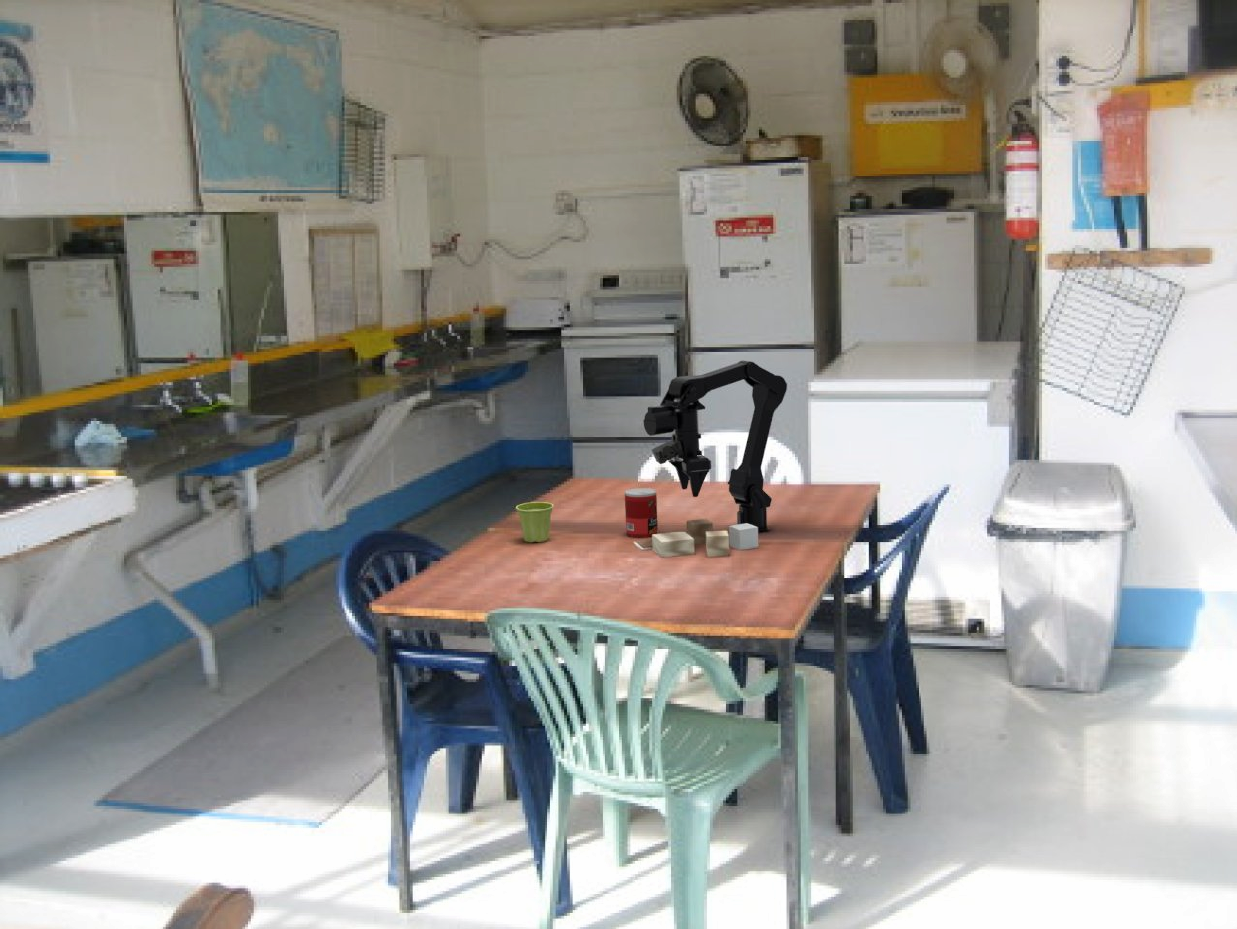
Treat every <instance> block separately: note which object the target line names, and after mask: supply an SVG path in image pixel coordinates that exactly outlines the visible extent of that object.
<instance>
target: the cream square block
mask: <svg viewBox="0 0 1237 929" xmlns="http://www.w3.org/2000/svg"><path fill="white" fill-rule="evenodd" d="M651 540H652V545H653V549H652V550H653V551H654V552H655V553H656V554H657V555H658V556H659V557H660V558H672V557H682V556H691V555H695V545H694V539H693V538H692V537H691V536H690V535H688V534H687V531H686V532H685V531H683V530H682V531H674V532H665V533H657V534H652V536H651Z"/></svg>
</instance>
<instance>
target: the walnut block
mask: <svg viewBox="0 0 1237 929" xmlns="http://www.w3.org/2000/svg"><path fill="white" fill-rule="evenodd" d="M713 526H714V523H713V522H712V521H710V520H709V519H707V518H701V519H700V518H699V519H690V520H689V519H688V520H686V533H687V534H688V535H690V536H691V537H692V538H693V539H694V546H695V545H697V546H698V545H706V531H714V529H713V528H714V527H713Z"/></svg>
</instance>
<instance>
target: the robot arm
mask: <svg viewBox="0 0 1237 929" xmlns="http://www.w3.org/2000/svg"><path fill="white" fill-rule="evenodd" d="M743 380H744V382H745V383H746V384H747V385H748V386H750V387H752V393H751V397H752V402H753V406H754V410H753V412H752V413H753V414H752V416H751V417H752V418H751V422H750V427H749V431H748V434H747V435H748V436H747V439H746V444H745V448H744V452H743V457H742V461H741V463H740V465H739V466H738V468H731V470H730V475H729V480H728V482H727V485H728V493H729V494H730V495H731V497H732V498H733V500H734V503H735V504H736V505H738V511H737V513H736V523H737V524H736V525H738V524H745V523H748V524H751V525H753V526H756V527H758V532H766V531H770V527H768V522H767V521H768V520H767V519H768V518H767V517H768V516H767V512H768V511H767V510H768V509H767V508H770V507H771V504H772V501H773V499H772V497H771V496H770V495H769V494H768V493H767V492H766V491H765V490H764V489H763V488H764V476H763V470H762V464H763V460H764V457H765V451H766V446H767V443H768V439H769V435H770V432H771V426H772V423H773V417H774V414H775V412H776V410H777V409H778V408H779V407H780V405H781V404H782V403H783V401H784V398H785V396H786V393H787V390H788V383H787V382H786V380H785V378H784V377H783V376H781V375H777V374H774V373H772V372H770V371H769V370H767V369H765V368H763V367H761V366H760V365H758V364H757V363H756V362H754V361H750V360H739V361H738V362H737V363H734V364H730V365H728V366H725V367H720V368H719V369H716V370H712V371H709V372H707V373H703V374H697V375H684V376H677V377H674V378H672V379H671V380H670V383H669V385H668V389H667V391H666V393H665V395H664V396H663V399H662V400H661V403H660V404H659V405H657V406H653V405H652V406H648V407H647V412H646V413H645V415H644V418H643V420H642V421H643V427H644V428H643V429H644V430H645V432H646V434H647V435H649V437H650V436H657V435H663V434H669V433H670V434H671V433H672V434H671V440H669V441H667V442H664V443H662V444H660V445H657V446H656V447H654V448H652V449H651V452H652V454H653V456H654V459H655V461H656V462H657V463H658V464H660V465H662V464H665V463H667V462H668V463H669V464H671V465H672V466H673V468H675V470H676V473H677V476H678V480H679V483H680V485H681V487H680V488H681V489H682V490H688V486H689V485H690V490H691V495H692V497H693V498H697V497H698V496H699V494H700V492H701V489H702V487H703V484H704V482H705V479H706V478H707V475H708V473H709V472H710V470H711V469H712V461H711V460H710V459H709V458H708V457H706V456H705V455H703V451H702V450H701V449H700V439H702V435H701V433H700V432H699V418H698V416H699V414H698V411H702V410H705V409H706V406H705V405H703V403H702V402H700V399H702V398H704V397H705V396H707V394H708V393H711V391H713V390H716V389H720V388H722V387H726V386H728V385H731V384H732V385H733V384H734V383H737V382H740V381H743Z"/></svg>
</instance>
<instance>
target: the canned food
mask: <svg viewBox="0 0 1237 929" xmlns="http://www.w3.org/2000/svg"><path fill="white" fill-rule="evenodd" d="M657 499H658V498H657V491H656V490H655V488H654V489H652V488H648V487H647V488H646V487H643V488H641V487H639V488H632V489H631V488H630V489H627V490H625V492H624V508H625V510H624V512H625V530H626V535H627V536H629V537H633V538H650V537H651V538H652V534H658V530H659V529H658V524H659V523H658V500H657Z"/></svg>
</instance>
